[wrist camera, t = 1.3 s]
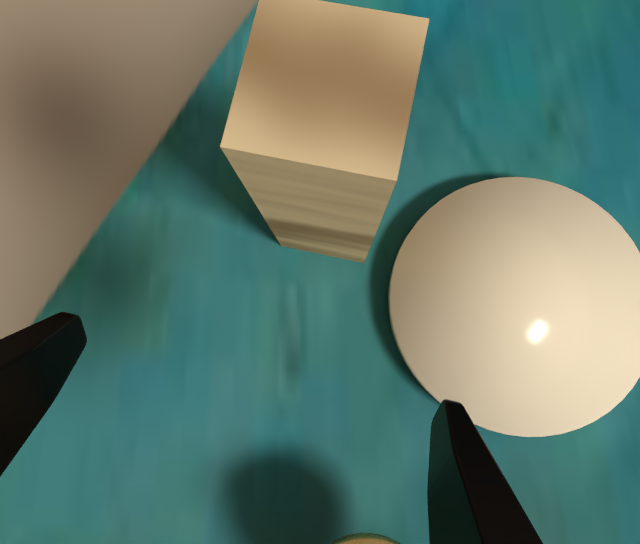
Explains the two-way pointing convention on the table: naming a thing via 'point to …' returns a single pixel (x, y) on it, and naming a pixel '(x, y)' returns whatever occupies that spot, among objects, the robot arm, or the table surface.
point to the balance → (364, 539)
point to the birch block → (323, 119)
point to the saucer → (519, 306)
